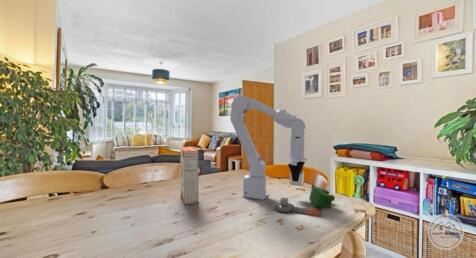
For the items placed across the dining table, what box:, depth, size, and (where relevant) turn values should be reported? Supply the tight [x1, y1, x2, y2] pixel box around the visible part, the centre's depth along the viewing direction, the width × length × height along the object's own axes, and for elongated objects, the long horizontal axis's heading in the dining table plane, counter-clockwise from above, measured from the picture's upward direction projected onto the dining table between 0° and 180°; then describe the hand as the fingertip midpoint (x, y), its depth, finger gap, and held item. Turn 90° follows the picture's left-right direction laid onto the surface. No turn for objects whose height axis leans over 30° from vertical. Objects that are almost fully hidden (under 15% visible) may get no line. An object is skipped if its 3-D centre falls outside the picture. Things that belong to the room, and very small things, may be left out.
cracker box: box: [179, 146, 199, 206], centre depth 104 cm, size 14×6×21 cm, turn 18°
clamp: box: [309, 186, 336, 209], centre depth 100 cm, size 12×6×9 cm, turn 172°
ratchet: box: [274, 197, 323, 217], centre depth 91 cm, size 16×7×4 cm, turn 68°
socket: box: [289, 170, 305, 187], centre depth 106 cm, size 5×5×5 cm
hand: (296, 179), depth 106 cm, fingers closed on socket, 5 cm apart
